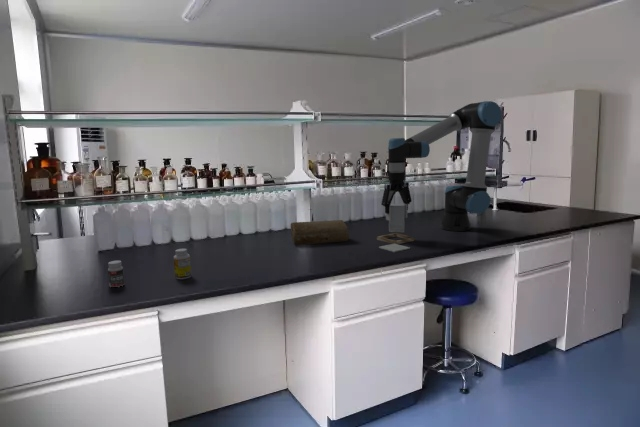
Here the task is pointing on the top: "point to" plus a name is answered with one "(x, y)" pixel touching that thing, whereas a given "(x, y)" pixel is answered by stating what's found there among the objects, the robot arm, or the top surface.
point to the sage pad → (394, 247)
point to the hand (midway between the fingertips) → (396, 218)
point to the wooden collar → (406, 238)
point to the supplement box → (397, 218)
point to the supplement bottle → (182, 264)
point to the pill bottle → (115, 274)
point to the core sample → (319, 232)
